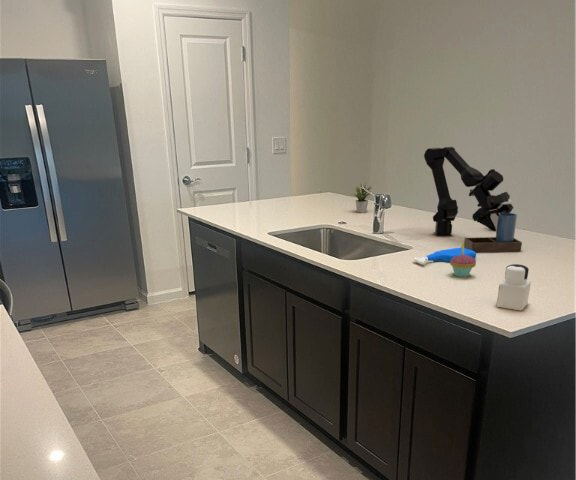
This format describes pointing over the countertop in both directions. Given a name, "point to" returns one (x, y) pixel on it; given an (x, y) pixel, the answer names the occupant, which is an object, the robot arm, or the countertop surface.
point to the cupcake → (462, 264)
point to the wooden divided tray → (491, 245)
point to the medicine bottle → (514, 288)
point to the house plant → (361, 199)
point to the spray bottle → (444, 255)
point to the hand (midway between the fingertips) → (502, 229)
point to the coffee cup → (495, 217)
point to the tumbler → (506, 227)
